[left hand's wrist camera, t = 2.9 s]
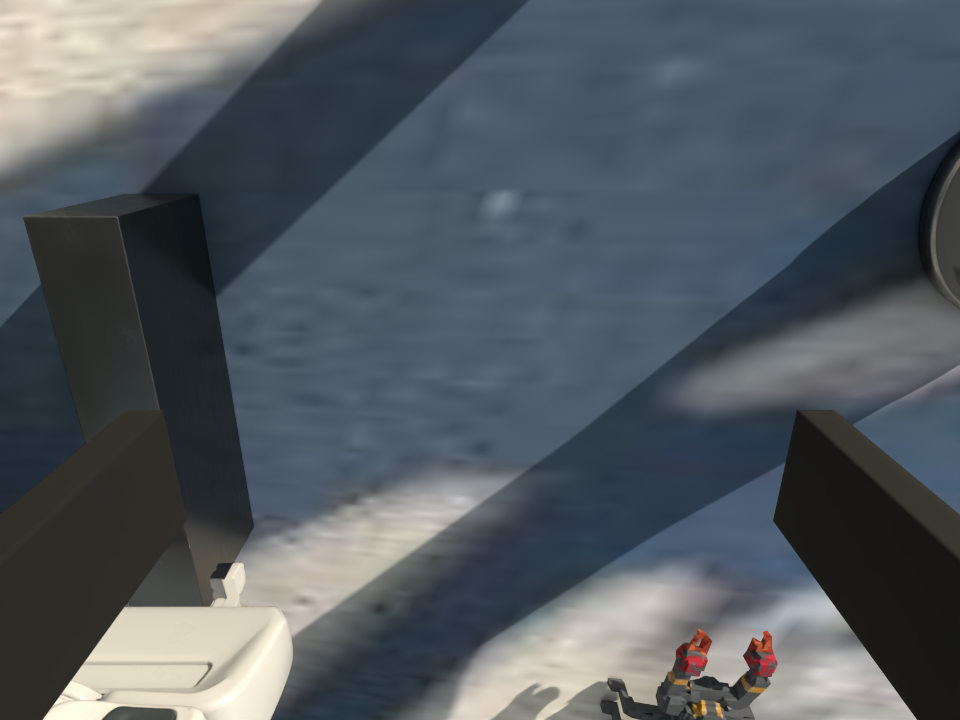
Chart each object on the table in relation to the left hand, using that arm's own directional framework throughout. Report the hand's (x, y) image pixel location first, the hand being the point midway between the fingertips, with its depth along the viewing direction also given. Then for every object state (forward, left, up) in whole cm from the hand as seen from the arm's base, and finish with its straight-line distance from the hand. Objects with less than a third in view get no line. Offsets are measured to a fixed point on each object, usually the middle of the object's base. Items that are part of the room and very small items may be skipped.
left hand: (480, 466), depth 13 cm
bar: (+21, +11, -30) cm, 38 cm away
